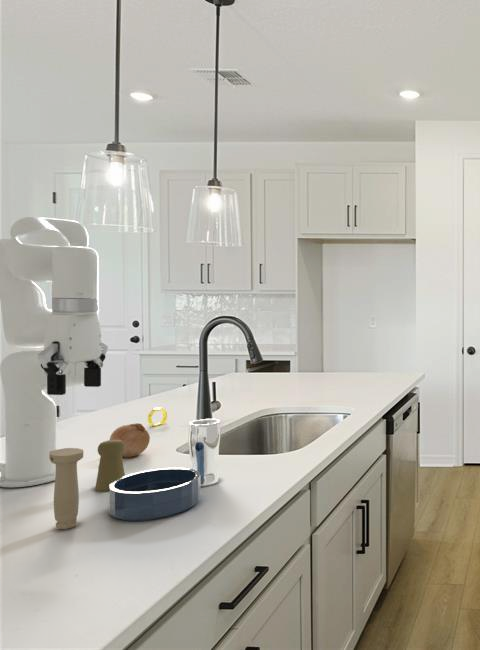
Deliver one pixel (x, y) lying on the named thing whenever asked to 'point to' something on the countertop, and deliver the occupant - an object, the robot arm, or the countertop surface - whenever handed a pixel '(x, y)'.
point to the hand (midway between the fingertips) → (75, 390)
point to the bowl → (154, 494)
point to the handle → (66, 486)
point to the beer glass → (205, 449)
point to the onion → (132, 439)
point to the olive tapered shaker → (109, 464)
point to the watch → (153, 412)
